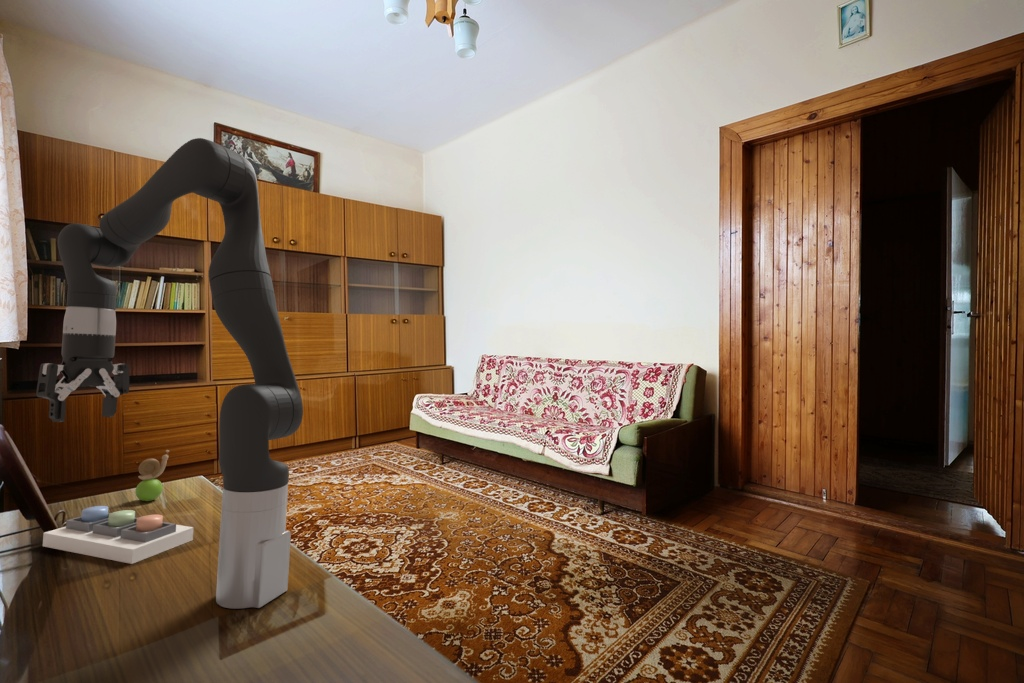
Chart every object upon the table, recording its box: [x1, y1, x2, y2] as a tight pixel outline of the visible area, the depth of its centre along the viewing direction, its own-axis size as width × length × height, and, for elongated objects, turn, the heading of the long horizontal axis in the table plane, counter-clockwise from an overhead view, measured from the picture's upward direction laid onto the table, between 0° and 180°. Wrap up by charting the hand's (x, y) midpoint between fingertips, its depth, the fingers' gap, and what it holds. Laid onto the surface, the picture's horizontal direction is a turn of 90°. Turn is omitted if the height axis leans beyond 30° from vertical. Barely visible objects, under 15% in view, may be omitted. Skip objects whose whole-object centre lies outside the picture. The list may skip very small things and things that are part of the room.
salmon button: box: [136, 514, 164, 532], centre depth 92 cm, size 4×4×2 cm
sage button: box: [108, 509, 136, 527], centre depth 94 cm, size 4×4×2 cm
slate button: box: [80, 505, 109, 523], centre depth 96 cm, size 4×4×2 cm
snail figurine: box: [135, 449, 170, 502], centre depth 121 cm, size 5×6×12 cm
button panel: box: [42, 512, 194, 565], centre depth 94 cm, size 22×12×4 cm, turn 75°
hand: (84, 419), depth 91 cm, fingers open, 8 cm apart
